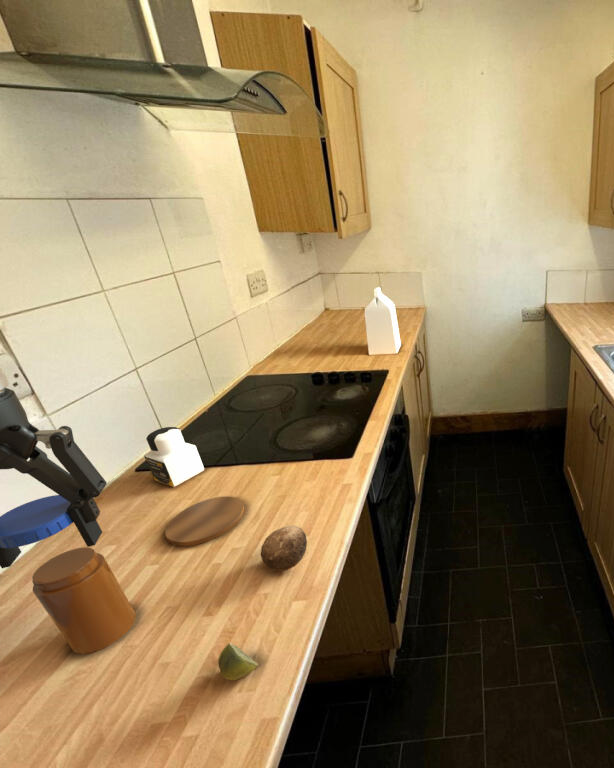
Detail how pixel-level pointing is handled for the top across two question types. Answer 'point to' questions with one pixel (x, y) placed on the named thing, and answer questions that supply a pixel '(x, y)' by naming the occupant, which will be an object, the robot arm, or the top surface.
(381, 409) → the top surface
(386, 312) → the milk
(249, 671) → the lime
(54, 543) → the top surface
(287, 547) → the brown oval lump
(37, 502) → the lid
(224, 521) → the coaster
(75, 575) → the jar
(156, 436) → the medicine bottle
